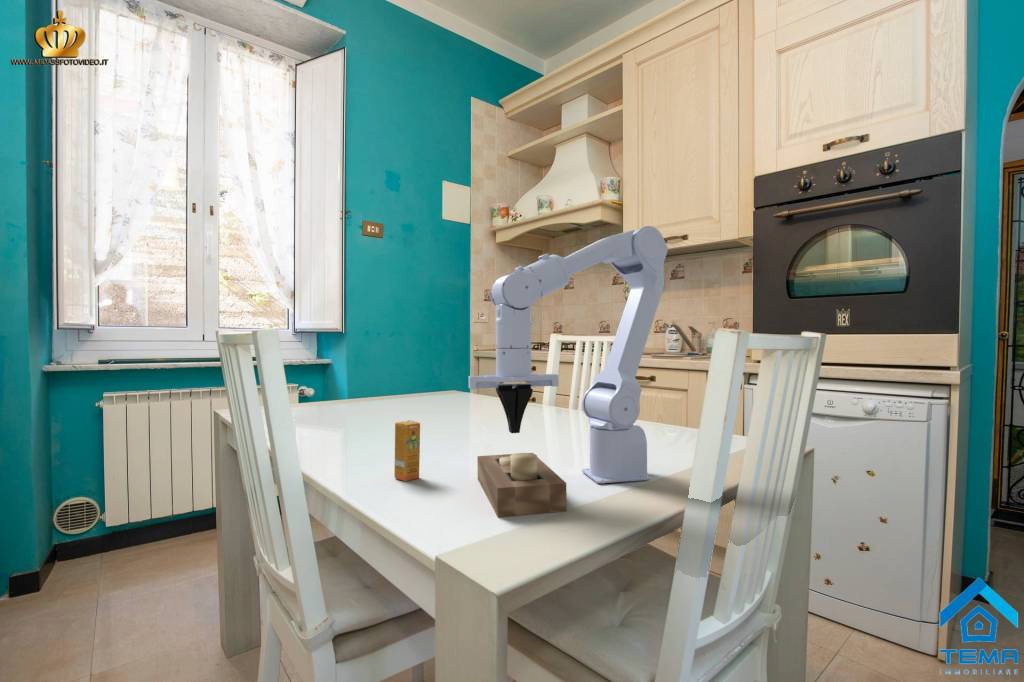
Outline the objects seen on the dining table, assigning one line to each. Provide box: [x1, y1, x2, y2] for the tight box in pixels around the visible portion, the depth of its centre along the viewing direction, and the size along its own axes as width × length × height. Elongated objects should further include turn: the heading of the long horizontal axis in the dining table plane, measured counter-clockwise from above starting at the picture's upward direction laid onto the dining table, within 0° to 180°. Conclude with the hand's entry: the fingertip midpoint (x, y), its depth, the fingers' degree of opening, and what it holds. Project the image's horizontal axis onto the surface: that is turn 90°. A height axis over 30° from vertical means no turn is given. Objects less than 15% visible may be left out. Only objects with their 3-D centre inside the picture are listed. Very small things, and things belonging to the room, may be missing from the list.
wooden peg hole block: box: [477, 452, 568, 518], centre depth 80 cm, size 10×19×4 cm, turn 12°
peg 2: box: [510, 452, 538, 481], centre depth 75 cm, size 4×4×4 cm
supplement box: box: [394, 420, 421, 482], centre depth 89 cm, size 3×3×10 cm
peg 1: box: [499, 456, 511, 465], centre depth 84 cm, size 4×4×4 cm
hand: (514, 432), depth 81 cm, fingers closed
